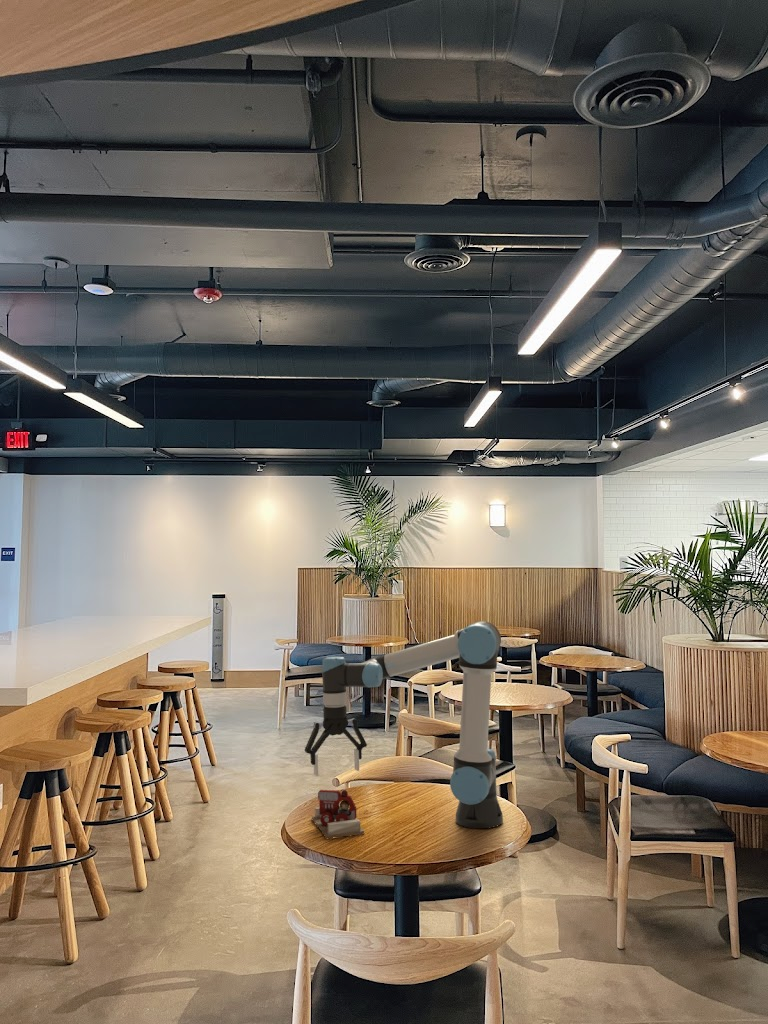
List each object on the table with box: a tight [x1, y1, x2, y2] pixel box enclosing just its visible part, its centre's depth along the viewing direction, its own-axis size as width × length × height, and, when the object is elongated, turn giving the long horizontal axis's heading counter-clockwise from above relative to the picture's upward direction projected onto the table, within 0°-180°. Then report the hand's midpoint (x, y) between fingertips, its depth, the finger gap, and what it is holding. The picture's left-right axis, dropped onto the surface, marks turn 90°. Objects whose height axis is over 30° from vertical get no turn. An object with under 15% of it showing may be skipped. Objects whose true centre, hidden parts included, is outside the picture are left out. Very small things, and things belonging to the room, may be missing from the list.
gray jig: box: [311, 803, 365, 839], centre depth 245 cm, size 20×12×4 cm, turn 19°
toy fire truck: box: [317, 789, 357, 826], centre depth 246 cm, size 7×12×10 cm, turn 80°
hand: (336, 772), depth 246 cm, fingers open, 13 cm apart
